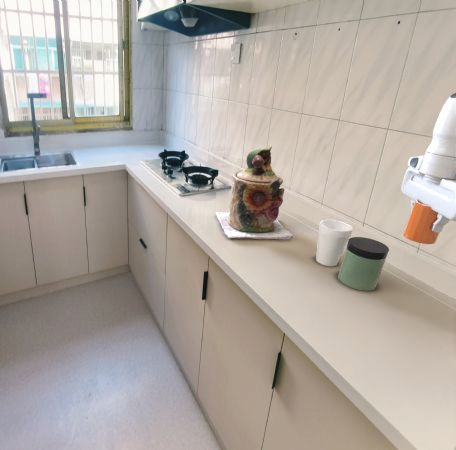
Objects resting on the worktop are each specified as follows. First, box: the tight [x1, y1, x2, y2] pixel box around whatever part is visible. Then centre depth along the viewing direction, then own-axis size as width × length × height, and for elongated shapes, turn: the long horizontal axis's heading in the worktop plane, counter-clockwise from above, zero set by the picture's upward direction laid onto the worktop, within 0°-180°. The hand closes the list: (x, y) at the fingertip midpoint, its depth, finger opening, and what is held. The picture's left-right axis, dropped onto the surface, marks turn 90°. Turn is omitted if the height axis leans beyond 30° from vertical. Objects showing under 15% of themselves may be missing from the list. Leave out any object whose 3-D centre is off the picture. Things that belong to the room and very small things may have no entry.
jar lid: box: [346, 236, 390, 259], centre depth 96 cm, size 10×10×2 cm
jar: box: [337, 246, 387, 292], centre depth 98 cm, size 10×10×12 cm
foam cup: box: [315, 218, 354, 267], centre depth 108 cm, size 10×9×13 cm
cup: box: [403, 199, 441, 245], centre depth 80 cm, size 6×6×9 cm
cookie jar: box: [215, 145, 294, 240], centre depth 128 cm, size 25×25×32 cm
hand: (424, 224), depth 80 cm, fingers closed on cup, 6 cm apart
